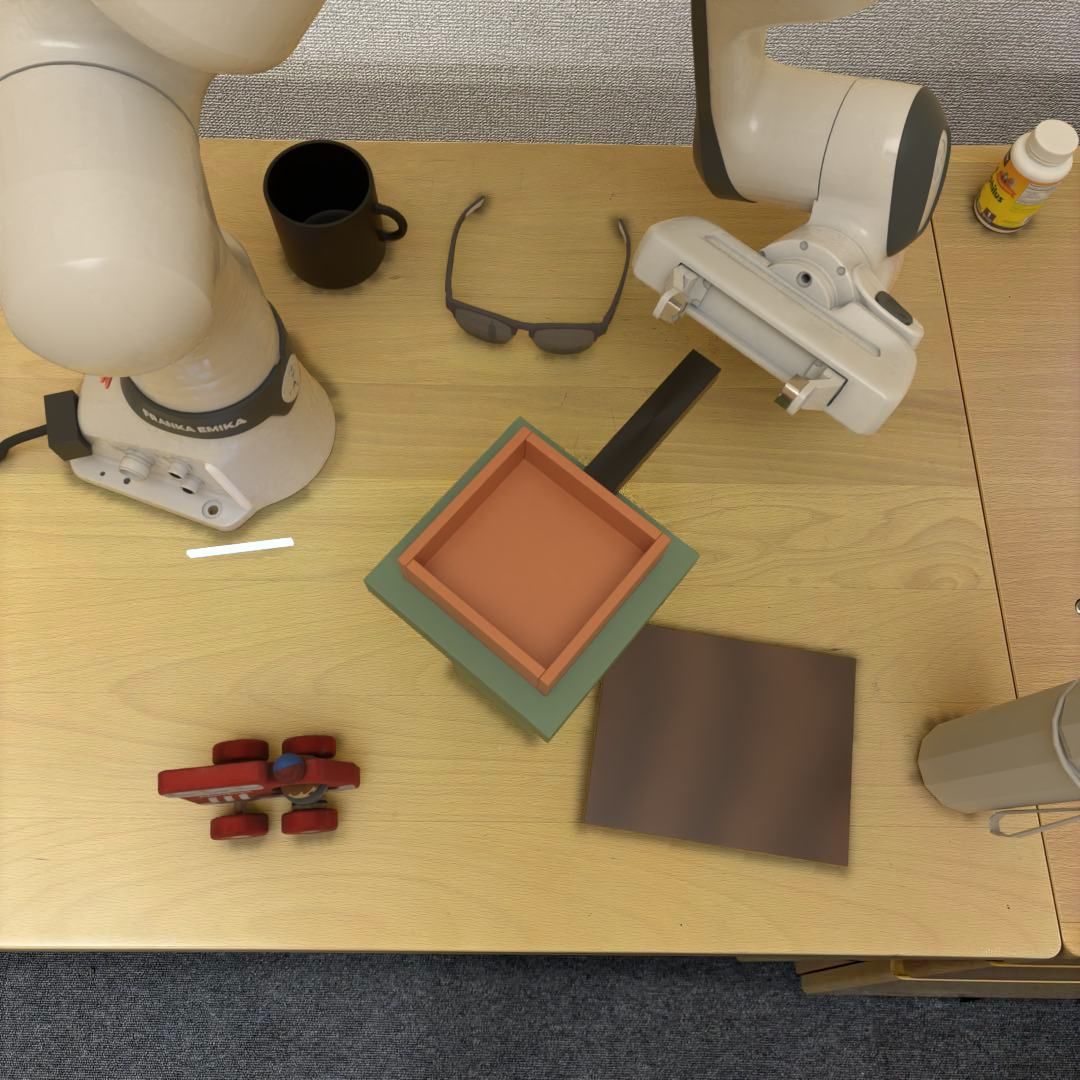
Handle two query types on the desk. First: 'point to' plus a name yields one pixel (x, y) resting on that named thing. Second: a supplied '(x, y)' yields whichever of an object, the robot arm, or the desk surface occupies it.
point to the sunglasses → (542, 334)
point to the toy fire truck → (266, 784)
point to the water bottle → (1009, 757)
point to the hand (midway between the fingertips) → (726, 355)
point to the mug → (328, 213)
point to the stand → (488, 668)
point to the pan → (551, 539)
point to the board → (725, 745)
